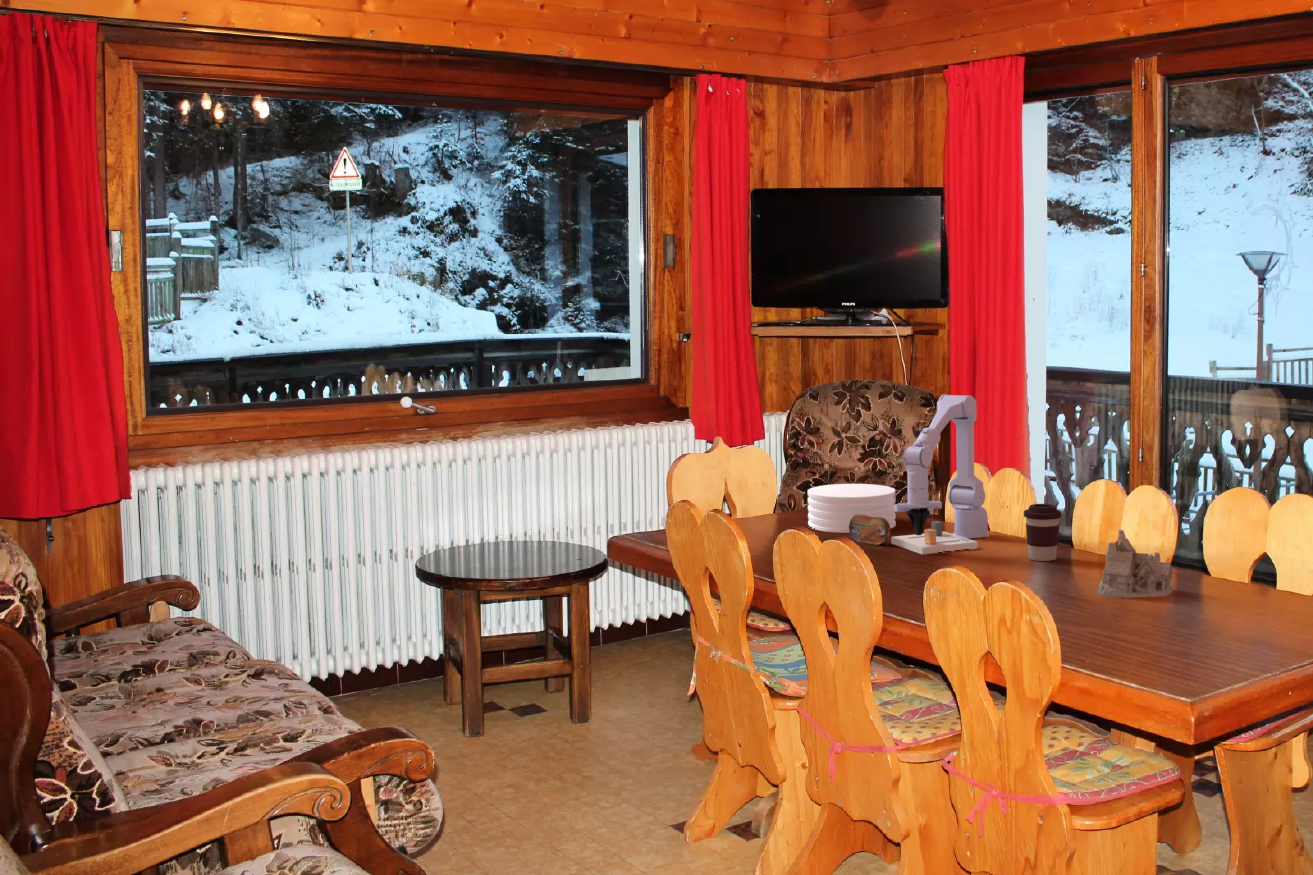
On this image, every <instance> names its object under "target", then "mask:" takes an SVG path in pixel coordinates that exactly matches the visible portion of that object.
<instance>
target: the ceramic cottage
mask: <svg viewBox="0 0 1313 875" xmlns="http://www.w3.org/2000/svg"><path fill="white" fill-rule="evenodd" d="M1117 542H1118V544H1117V545H1116V542H1115V541H1109V542H1108V543H1107V551H1106V553H1105V567H1104V569H1103V571H1102V576H1101V580H1100V582H1099V584H1098V589H1097V594H1098V595H1100V596H1103V597H1108V598H1118V599H1122V598H1124V599H1137V598H1138V599H1139V598H1152V597H1153V598H1154V597H1155V598H1157V597H1166V596H1170V595H1171V594H1172V593H1173V592H1174V591H1173V586H1172V585H1171V582H1172V579H1173V577H1172V575H1174V569H1173V567H1172V564H1171V562H1167V561H1161V555H1160V552H1158V551H1157V552H1154V554H1153V553H1150V554H1148V553H1143V552H1137V551H1136V549H1135V548H1134V546H1133V545H1132V544H1131V542H1130V540H1129V539H1128V538H1127V537H1126V534H1125V531H1124V529H1119V530H1118V535H1117Z"/></svg>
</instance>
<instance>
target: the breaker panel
mask: <svg viewBox="0 0 1313 875" xmlns="http://www.w3.org/2000/svg"><path fill="white" fill-rule="evenodd" d="M942 534H943V535H941V536H936V544H928V543H925V533H922V535H915V534H909V535H898V536H896V535H895V536H890V538H891V544H892V545H895V546H897V547H900V548H903V549H906V550H909V551H911V552H915V553H917V554H920V555H931V554H939V553H938V552H942V553H944V552H943V551H951V552H956V551H955V550H961V549H970V550H976V549H978V541H976V540H972V539H966V538H963V537H960V536H957V535H954V534H951V533H950V532H947V531H942ZM961 551H962V550H961Z"/></svg>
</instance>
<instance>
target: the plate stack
mask: <svg viewBox="0 0 1313 875" xmlns="http://www.w3.org/2000/svg"><path fill="white" fill-rule="evenodd" d="M895 495H896V488H893V487H891V486H887V485H882V484H874V483H873V484H872V483H871V484H870V483H836V484H825V485H818V486H813V487H810V488H809V489H807V504H808V505H807V510H808V513H807V519H808V521H807V524H808V525H809V526H810V527H812V528H811V529H813V530H817V531H820V532H821V531H822V532H827V533H838V534H839V533H841V534H850V532H849V523H850V520H851V519H852V517H853V516H855V515H869V516H877V517H883V518H885V519H886V520H887V521H888V523H889V525H890V530H891V529H893V528H895V527H896V526H897V525H896V524H897V523H896V520H895V519H896V517H897V516H896V512H895V511H894V505H895V504H896V497H895ZM808 525H807V526H808ZM809 526H808V527H809ZM810 527H809V528H810ZM814 528H815V529H814Z"/></svg>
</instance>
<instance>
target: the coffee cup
mask: <svg viewBox="0 0 1313 875" xmlns="http://www.w3.org/2000/svg"><path fill="white" fill-rule="evenodd" d="M1023 517H1024V518H1025V519H1026V520H1025V521H1026V522H1025V530H1026V532H1025V533H1026V543H1027V551H1028V559H1030V560H1031V559H1032V560H1031V561H1035V562H1053V561H1055V560H1056V559H1057V554H1058V545H1059V534H1060V519H1061V518H1062V510H1060V509H1059V510H1058V509H1057V506H1056V505H1054V504H1051V503H1032V504H1030V505H1029V506H1028V509H1024V511H1023ZM1052 560H1053V561H1052Z"/></svg>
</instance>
